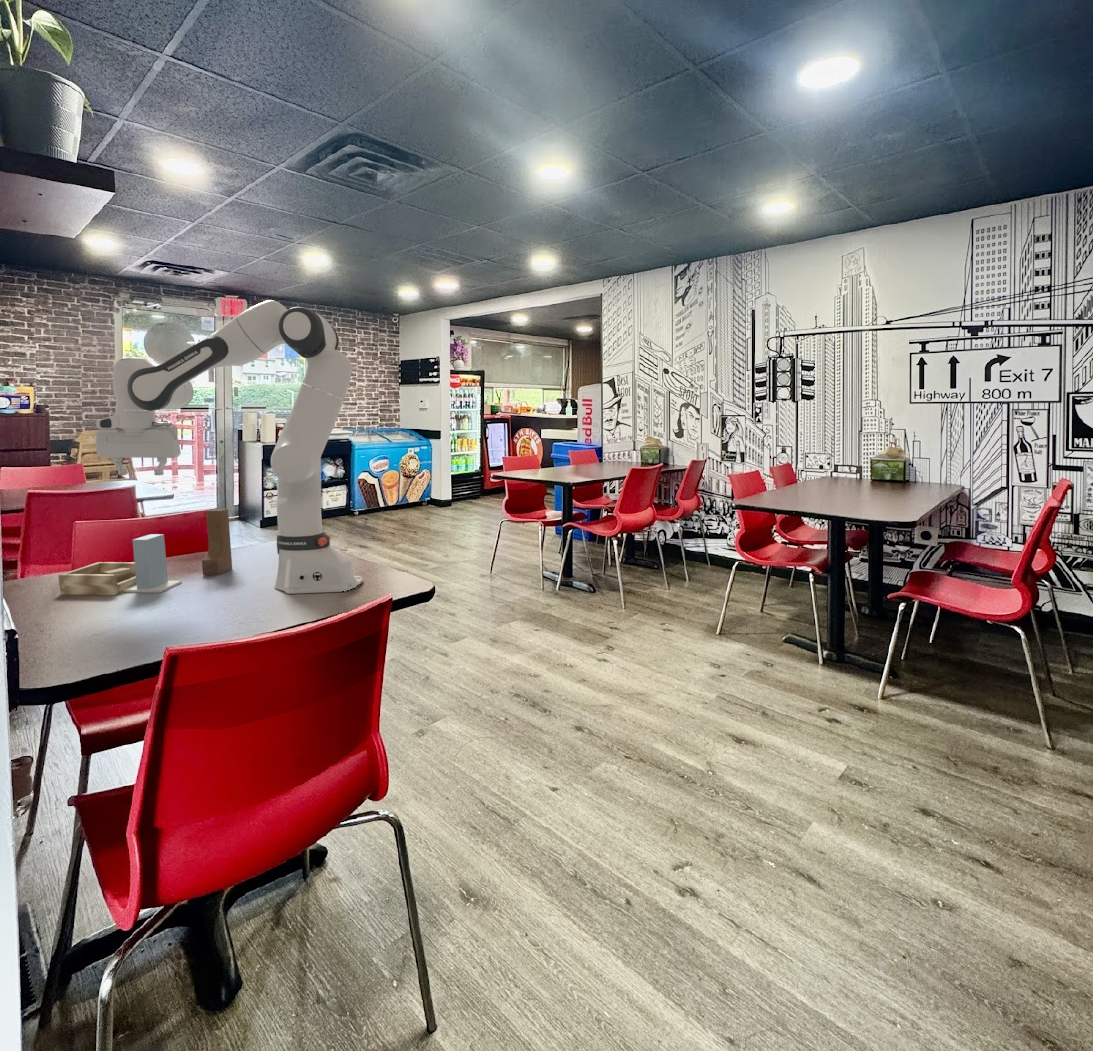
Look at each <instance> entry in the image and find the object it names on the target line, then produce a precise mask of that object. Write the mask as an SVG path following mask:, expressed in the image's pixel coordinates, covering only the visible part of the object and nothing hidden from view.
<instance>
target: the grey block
mask: <svg viewBox="0 0 1093 1051" xmlns="http://www.w3.org/2000/svg"><path fill="white" fill-rule="evenodd" d="M165 543H166V542H165V534H160V533H159V534H158V533H154V534H153V533H151V534H150V533H149V534H146V535H142V536H140V537H137V538H134V539H132V548H133V550H132V551H133V562H135V573H136V583H137V589H152V588H155V587H157V586H159V585H161V584H164V583H166V582H168V581H169V578H168V577H169V576H168V568H167V566H168V565H167V556H166V544H165Z"/></svg>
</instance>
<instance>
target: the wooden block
mask: <svg viewBox="0 0 1093 1051" xmlns="http://www.w3.org/2000/svg"><path fill="white" fill-rule="evenodd" d="M205 514H206V524H207V525H206V527H207V540H208V541H207V542H208V551H207V554H206V557H204V558H203V559H201V560H202V561H201V568H202V575H203V576H220V575H222V574H224V573H226V572H227V571H230V570H231V569H233V560H232V548H231V546H232V545H231V544H232V543H231V532H230V518H229V509H228V508H212V509H209V510H208V509H207V510H206V513H205Z"/></svg>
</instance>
